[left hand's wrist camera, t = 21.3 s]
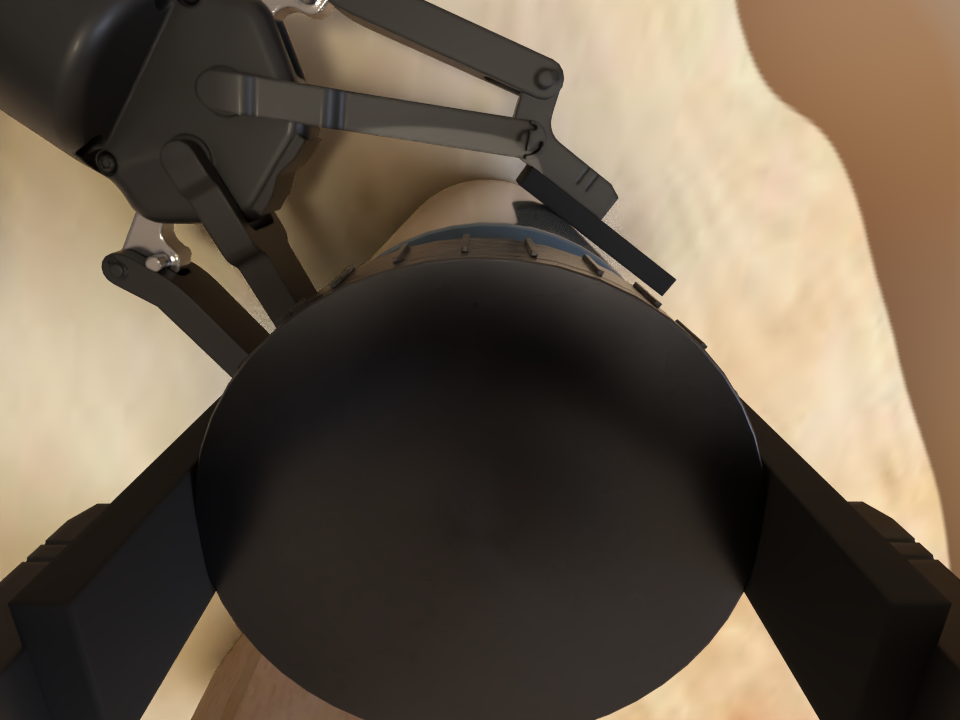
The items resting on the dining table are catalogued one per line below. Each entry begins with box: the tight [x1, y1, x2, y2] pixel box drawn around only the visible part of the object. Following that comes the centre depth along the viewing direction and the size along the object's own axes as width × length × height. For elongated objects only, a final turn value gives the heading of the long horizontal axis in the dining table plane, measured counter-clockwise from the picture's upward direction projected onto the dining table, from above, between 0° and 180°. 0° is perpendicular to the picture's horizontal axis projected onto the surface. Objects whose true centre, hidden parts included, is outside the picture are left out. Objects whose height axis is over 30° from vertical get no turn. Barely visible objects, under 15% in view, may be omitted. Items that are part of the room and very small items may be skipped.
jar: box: [369, 179, 623, 279], centre depth 21 cm, size 9×9×17 cm
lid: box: [195, 234, 765, 720], centre depth 11 cm, size 10×10×2 cm
